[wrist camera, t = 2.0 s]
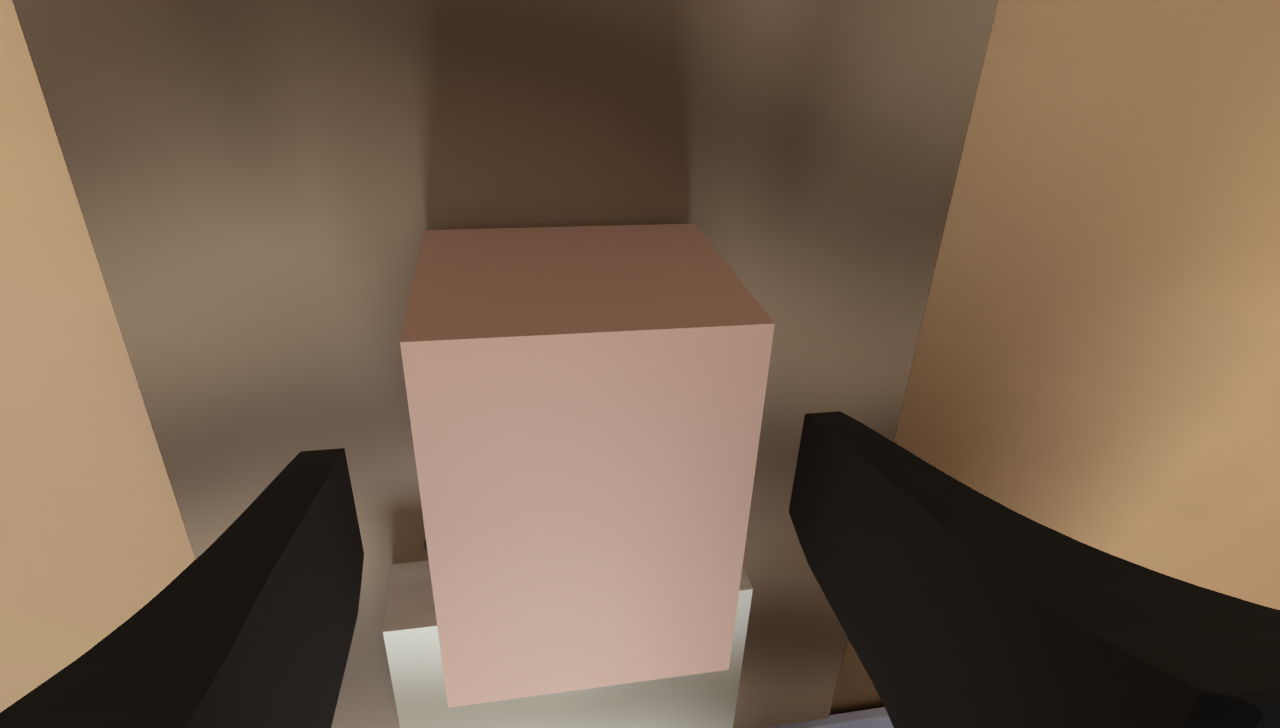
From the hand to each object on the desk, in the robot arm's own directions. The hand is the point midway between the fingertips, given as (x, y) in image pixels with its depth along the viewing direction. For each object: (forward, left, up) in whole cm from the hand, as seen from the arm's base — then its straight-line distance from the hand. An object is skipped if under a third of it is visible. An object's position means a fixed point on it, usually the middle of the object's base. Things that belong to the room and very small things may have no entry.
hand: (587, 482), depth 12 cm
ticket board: (-2, 0, -5) cm, 6 cm away
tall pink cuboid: (-1, 0, -4) cm, 4 cm away
